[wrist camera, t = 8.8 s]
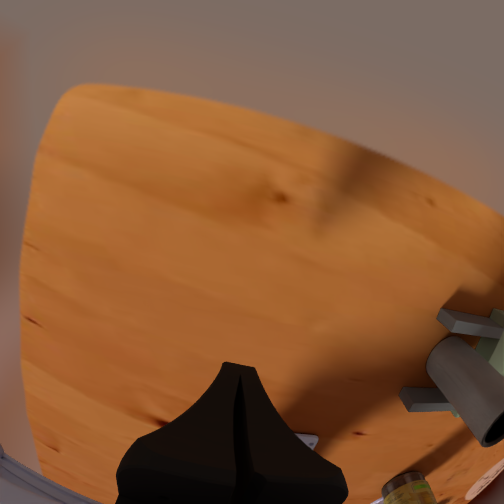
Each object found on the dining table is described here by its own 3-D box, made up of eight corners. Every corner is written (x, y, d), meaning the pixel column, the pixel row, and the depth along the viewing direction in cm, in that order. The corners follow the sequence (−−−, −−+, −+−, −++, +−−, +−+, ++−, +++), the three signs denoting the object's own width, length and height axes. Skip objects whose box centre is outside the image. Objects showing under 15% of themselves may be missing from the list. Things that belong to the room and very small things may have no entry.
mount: (473, 401, 24) (483, 414, 22) (393, 403, 24) (402, 420, 21) (518, 314, 22) (532, 323, 19) (445, 296, 21) (461, 308, 19)
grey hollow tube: (425, 384, 23) (476, 457, 13) (425, 346, 22) (488, 420, 12) (462, 365, 23) (519, 427, 13) (465, 327, 22) (533, 387, 12)
